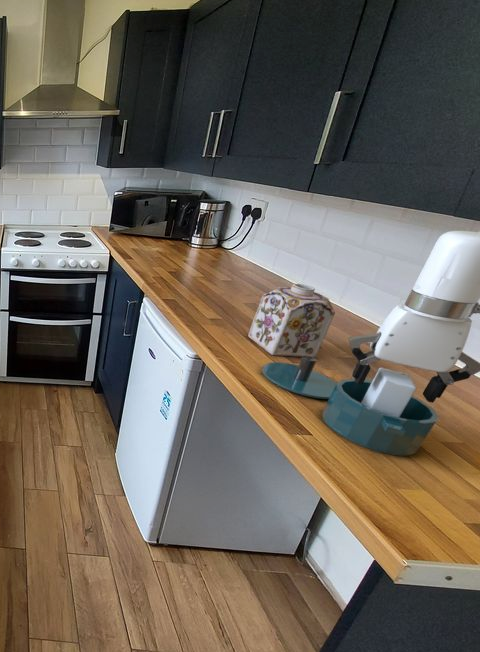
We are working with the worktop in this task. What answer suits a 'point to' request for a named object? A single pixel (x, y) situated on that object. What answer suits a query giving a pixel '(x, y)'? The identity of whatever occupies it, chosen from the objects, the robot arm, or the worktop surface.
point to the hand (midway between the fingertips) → (391, 389)
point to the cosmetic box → (389, 392)
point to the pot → (377, 420)
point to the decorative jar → (292, 321)
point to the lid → (300, 378)
